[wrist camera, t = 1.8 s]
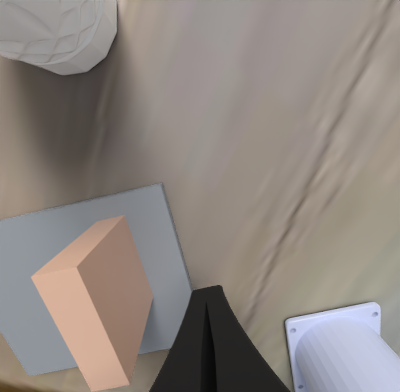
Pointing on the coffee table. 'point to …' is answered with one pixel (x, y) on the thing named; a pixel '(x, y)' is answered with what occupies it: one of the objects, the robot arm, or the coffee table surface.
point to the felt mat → (57, 241)
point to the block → (99, 301)
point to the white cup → (58, 33)
